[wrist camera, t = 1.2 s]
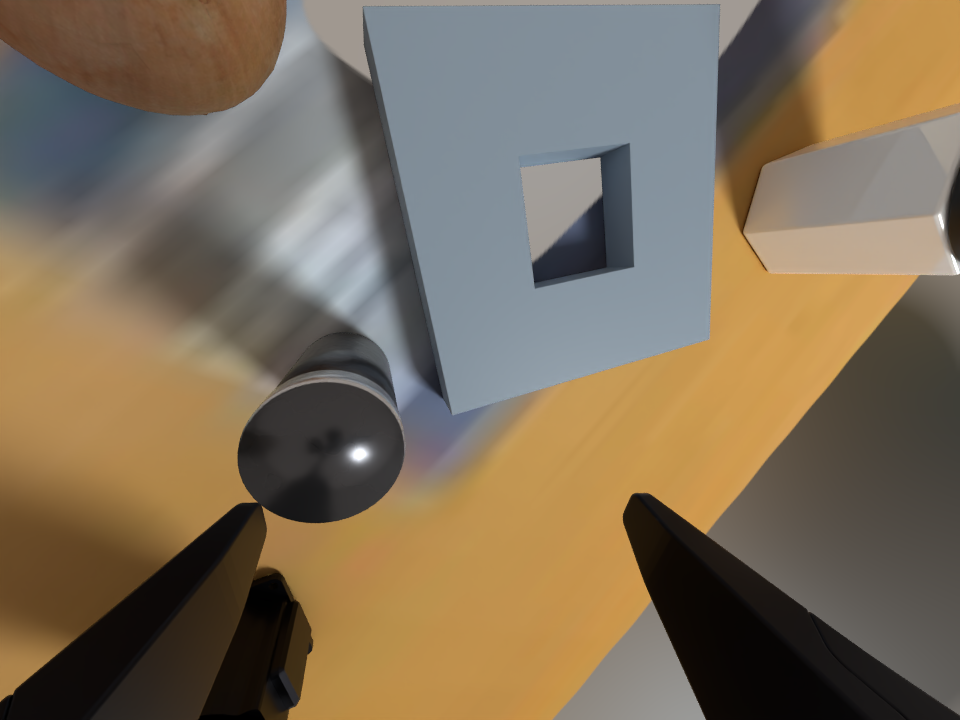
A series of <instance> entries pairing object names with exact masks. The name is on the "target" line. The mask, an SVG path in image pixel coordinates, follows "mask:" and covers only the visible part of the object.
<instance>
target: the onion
mask: <svg viewBox="0 0 960 720" xmlns="http://www.w3.org/2000/svg"><path fill="white" fill-rule="evenodd" d="M285 24H286V0H0V39H2V40H3V41H4V42H5V43H7V44H8V45H10V46H11V47H13V48H14V49H16V50H17V51H19V52H20V53H21V54H23V55H24V56H26V57H27V58H29V59H30V60H32V61H33V62H34V63H36V64H37V65H39V66H40V67H42V68H44V69H46V70H47V71H49V72H51V73H53V74H55V75H56V76H58V77H60V78H62V79H64V80H66V81H67V82H69V83H71V84H73V85H75V86H77V87H79V88H81V89H83V90H85V91H87V92H89V93H92V94H94V95H97V96H99V97H101V98H104V99H107V100H110V101H114V102H117V103H120V104H123V105H127V106H130V107H134V108H137V109H141V110H144V111H148V112H155V113H162V114H168V115H189V116H190V115H207V114H208V113H211V112H217V111H224V110H227V109H229V108H232V107H234V106H236V105H238V104H239V103H241V102H243V101H244V100H246V99H247V98H249V97H250V96H252V95H253V94H254V93H255V92H256V91H257V90H259V88H260V87H261V86H262V84H263V83H264V82H265V80H266V79H267V78H268V76H269V75H270V74H271V73H272V71H273V70H274V67H275V64H276V61H277V58H278V55H279V52H280V49H281V45H282V42H283V38H284V32H285Z"/></svg>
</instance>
